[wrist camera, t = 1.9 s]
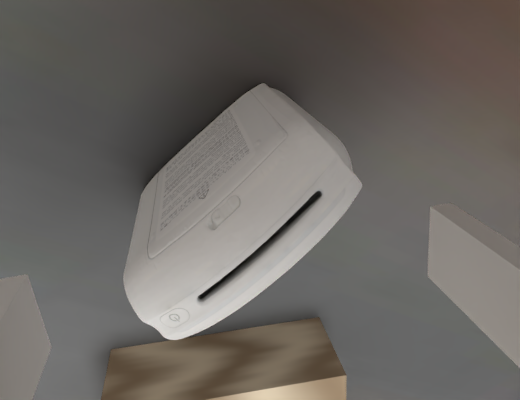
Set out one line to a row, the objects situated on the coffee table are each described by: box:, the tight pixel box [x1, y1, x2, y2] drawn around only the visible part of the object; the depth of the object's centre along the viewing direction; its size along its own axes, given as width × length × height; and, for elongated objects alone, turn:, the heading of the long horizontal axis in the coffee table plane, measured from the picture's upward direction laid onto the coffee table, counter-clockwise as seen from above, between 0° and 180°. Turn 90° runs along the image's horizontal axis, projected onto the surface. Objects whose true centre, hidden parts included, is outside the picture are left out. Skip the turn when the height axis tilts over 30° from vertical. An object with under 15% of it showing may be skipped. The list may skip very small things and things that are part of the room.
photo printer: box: [123, 83, 362, 340], centre depth 21 cm, size 10×4×12 cm, turn 131°
